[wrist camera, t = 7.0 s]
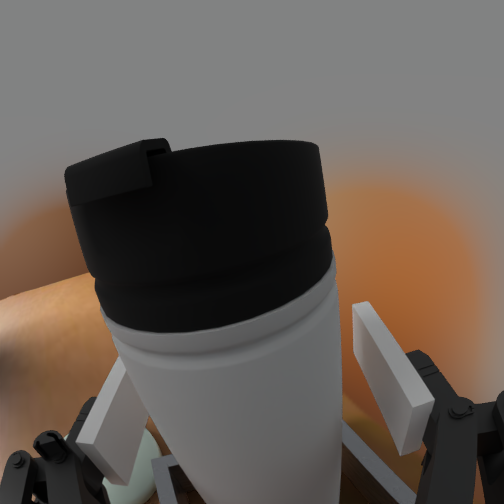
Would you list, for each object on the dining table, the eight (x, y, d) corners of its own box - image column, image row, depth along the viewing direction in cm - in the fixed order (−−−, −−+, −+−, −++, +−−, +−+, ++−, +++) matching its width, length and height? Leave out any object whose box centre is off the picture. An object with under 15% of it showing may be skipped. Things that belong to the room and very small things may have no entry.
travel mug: (219, 558, 11) (-2, 197, 5) (247, 478, 17) (148, 157, 11) (329, 571, 10) (301, 100, 3) (342, 483, 16) (320, 123, 9)
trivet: (59, 436, 22) (53, 428, 21) (154, 415, 24) (149, 406, 24) (54, 522, 12) (44, 515, 12) (175, 506, 15) (169, 499, 15)
